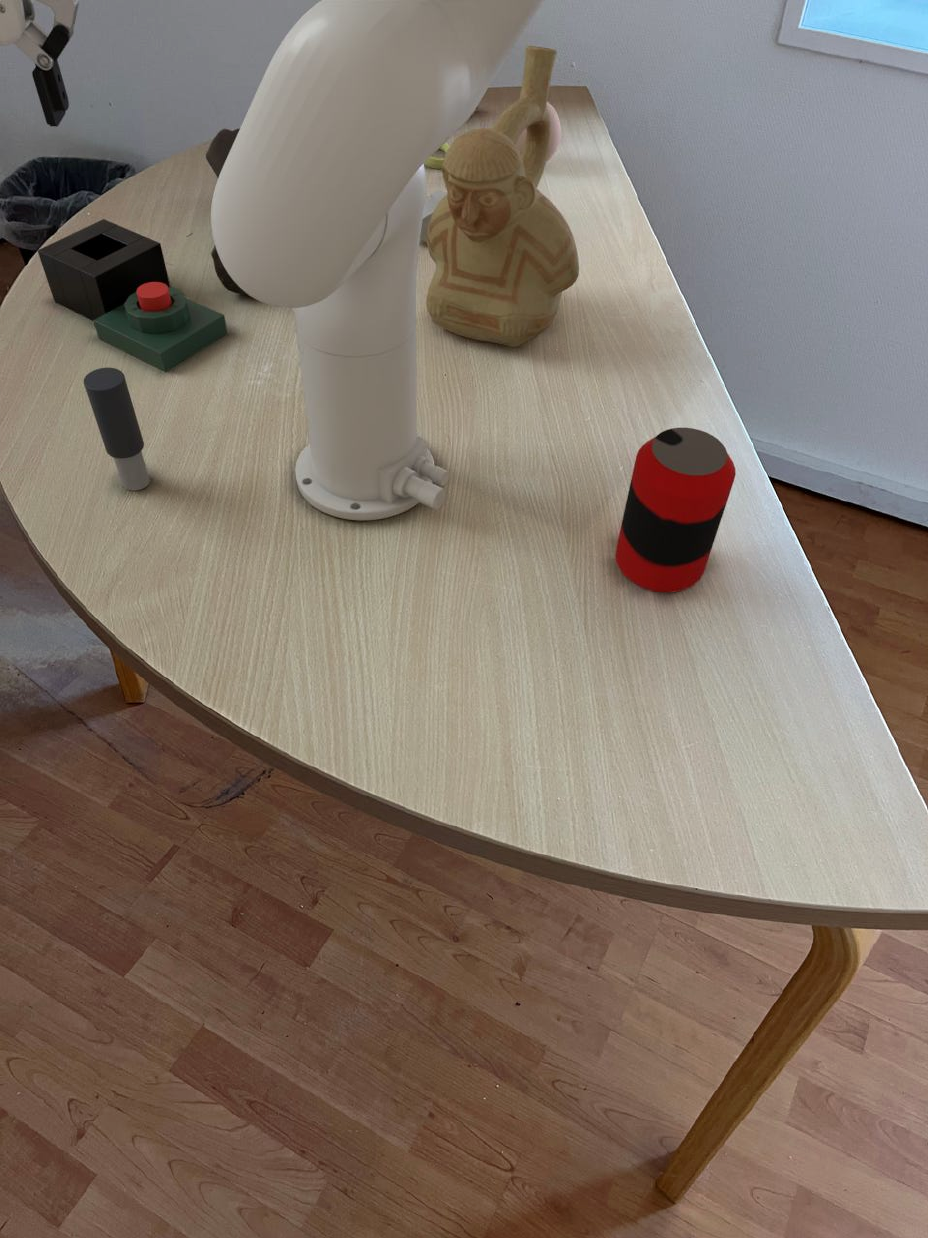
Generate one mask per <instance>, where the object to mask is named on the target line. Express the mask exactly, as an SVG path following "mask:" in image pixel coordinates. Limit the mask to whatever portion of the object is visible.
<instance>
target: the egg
mask: <svg viewBox="0 0 928 1238" xmlns="http://www.w3.org/2000/svg"><path fill="white" fill-rule="evenodd" d="M547 108H548V110H549V114H550V124H551V133H550V146H549V151H548V155H547V160H546V163H547V162H548V161H549V160H550V159H552V158H553V156H554V155H555V154H556V152H557V151H558V149H559V146H560V144H561V137H562V126H561V121H560V118H559V115H558V113H557V111H556V110H555V108H554V107H553V105H551V103H550V102H549V101H547ZM526 134H527V130H526V128H525V129H524V131H523V132H522V134H521V135H520V137H519V139H518V141H517V143H516V145H515V146H516V147H517V148H518V150H519V152H520V155H521V157H522V154H523V151H524V147H525V143H526Z"/></svg>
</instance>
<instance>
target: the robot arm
mask: <svg viewBox="0 0 928 1238" xmlns="http://www.w3.org/2000/svg"><path fill="white" fill-rule="evenodd" d="M36 1H37V2H39V3H41V4H43V5H45V6H47V7H49V8H50V9H51V10H52V12H53V15H54V19H53V25H52V29H51V31H50V32H49V33H48V32H47V31H45V30H44V29H43V28H42V27H41V26H40V24H38V23H37V22H36V21H35V18H36V12H35V6H34V2H33V0H0V47H5V46H9V45H12V44H14V45H15V46H16V47H17V48H18V49H19V50H20V51H21V52H22V53H23V54H25V55H26V56H27V58H29V60H31V61H32V63H34V65H35V66H34V68H33V70H32V72H31V75H32V79H33V83H34V86H35V90H36V93H37V96H38V100H39V103H40V107H41V109H42V113H43V116H44V119H45V122H46V124H47V125H49V126H50V127H59V125H60V124H61V123H62V121H63V119H64V116H66V112H67V111H68V110H69V107H70V101H69V97H68V93H67V90H66V87H65V83H64V79H63V75H62V71H61V68H60V64H59V61H58V59H59V57H60V56H61V54H62V53H63V51H64V50H65V48H66V46H67V44H68V43H69V42H70V40H71V38H72V37H73V35H74V28H75V24H76V19H77V15H78V9H79V5H80V0H36ZM544 2H545V0H320V1H318V2H317V3H315V4H314V5H313V6H312V7H311V8H309V10H308V11H306V12H305V13H304V14H303V15H302V16H301V17H300V18H299V19H298V20H297V21H296V23H295V24H294V25H293V26H292V27H291V29H289V31H288V33H287V34H286V35H285V37H284V38H283V40H282V41H281V42H280V44H279V46H278V47H277V49H276V51H275V53H273V54H274V55H273V56H272V58H271V60H270V62H269V64H268V66H267V68H266V71H265V72H264V74H263V77H262V79H261V82H260V84H259V86H258V88H257V90H256V92H255V95H254V96H253V99H252V101H251V104H250V106H249V107H248V109H247V110H248V111H247V112H246V115H245V117H244V119H243V121H242V124H241V126H240V130H239V132H238V134H237V137H236V139H235V141H234V143H233V146H232V148H231V150H230V152H229V154H228V157H227V159H226V161H225V163H224V166H223V168H222V170H221V173H220V175H219V178H217V182H216V184H215V186H214V191H213V194H212V199H211V206H210V225H211V227H210V228H211V233H212V238H213V243H214V246H216V250H217V252H218V255H219V257H220V260H221V262H222V264H223V266H224V267H225V269H226V271H227V272H228V274H229V275H230V277H231V278H232V279H233V281H234V282H235V283H236V284H237V285H238V286H239V287H240V288H241V289H242V290H243V291H244V292H246V293H247V294H248V295H250V296H249V297H251V298H252V299H254V300H257V301H259V302H261V303H263V304H265V305H268V306H272V307H275V308H282V309H292V311H293V318H294V326H295V327H294V328H295V336H296V344H297V352H298V360H299V368H300V376H301V385H302V393H303V394H302V395H303V401H304V411H305V417H306V418H305V419H306V427H307V434H308V441H309V442H308V444H306V445H305V446H304V448H303V449H302V450H301V452H300V453H299V455H298V458H297V459H296V461H295V462H296V463H295V469H294V473H295V480H296V485H297V488H298V491H299V492H300V494H301V496H302V497H303V498H304V499H305V501H307V503H309V504H310V505H311V506H312V507H313V508H315V509H317V510H319V512H322V513H325V514H326V515H330V516H332V517H336V518H340V519H344V520H350V521H377V520H382V519H383V520H384V519H388V518H390V517H394V516H397V515H401V514H402V513H404V512H407V511H409V510H410V509H411V508H413V507H415V506H416V505H418V504H419V503H421V504H423V505H425V506H426V507H429V508H430V509H433V510H434V511H435V510H436V511H437V510H439V509H440V508H441V507H442V506H443V505H444V503H445V501H446V497H447V490H446V489H445V488H443V487H441V486H446V484H448V482H449V480H450V477H451V472H450V471H448V470H446V469H444V468H442V467H440V466H437V465H435V461H434V457H433V455H432V452H431V450H430V449H429V448H428V441H427V440H426V439H424V438H422V437H420V436H418V398H417V397H418V396H417V395H418V394H417V391H418V390H417V384H418V383H417V275H418V260H419V250H420V242H421V239H420V235H421V228H422V220H423V213H424V204H425V197H426V169H425V164H424V163H425V162H426V161H427V160H428V159H429V158H430V157H433V155H435V154H436V152H437V151H438V150H440V149H439V148H440V147H441V146H442V145H443V144H444V143H445V142H446V143H447V141H449V140H450V139H451V138H452V137H453V136H454V135H455V134H456V133H457V132H458V131H459V130H460V129H461V128H462V127H463V126H464V125H465V124H466V122H467V121H468V120H469V119H470V118H471V117H472V116H473V114H474V112H475V111H476V110H477V109H478V108H477V106H478V107H479V105H480V103H481V101H482V99H483V98H484V96H485V94H486V92H487V90H488V89H489V87H490V86H491V84H492V82H493V80H494V79H495V77H496V76H497V74H498V72H499V71H500V69H501V68H502V65H503V64H504V63H505V61H506V59H507V58H508V56H509V54H510V53H511V52H512V50H513V49H514V47H515V45H516V44H517V42H518V41H519V40H520V38H521V37H522V35H523V34H524V32H525V30H526V29H527V27H528V26H529V25H530V23H531V21H532V20H533V19H534V17H535V15H536V14H537V13H538V11H539V10H540V8H541V7H542V5H543V3H544ZM476 108H477V109H476ZM475 109H476V110H475ZM434 483H436V484H434ZM437 484H438V485H440V486H438V485H437Z"/></svg>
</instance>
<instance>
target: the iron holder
mask: <svg viewBox="0 0 928 1238" xmlns="http://www.w3.org/2000/svg"><path fill="white" fill-rule="evenodd" d="M37 252H38V257H39V260H40V262H41V265H42V268H43V271H44V274H45V277H46V280H47V284H48V286H49V288H50V289H49V290H50V293H51V295H52V298H53V302H54V303H56V304H58V305H60V306H62V307H64V308H66V309H69V310H70V311H73V312H75V313H76V314H79V315H81V316H83V317H85V318H86V319H89V320H91V321H92V322H94V320H95V319H97V318H99V317H101V316H102V315H104V314H106V313H108V312H110V311H112V310H113V309H115V308H117V307H119V306H121V305H122V304H124V303H125V302H126V300H127V299H128V297H129V296H130V295H132V294H134V293H135V292H136V291H137V288H138V287H139V286H141V285H143V284H145V283H149V282H161V283H164V284H166V285H167V286H168V287H171V284H170V279H169V275H168V271H167V266H166V262H165V258H164V252H163V249H162V244H161V243H160V242H159V241H157V240H155V239H151V238H149V237H147V236H145V235H143V234H140V233H137V232H135V231H132V230H130V229H129V228H125V227H124V226H121V225H118V224H116V223H114V222H112V221H109V220H107V219H105V218H102V219H100V220H98V221H96V222H93V223H92V224H90V225H88V226H86V227H84V228H82V229H79V230H77V231H76V232H75V231H74V232H73V233H71V234H69V235H66V236H65V237H63V238H60V239H59V240H57V241H55V242H52V243H50V244H48V245H46V246H44V247H42V248H39V249H38V250H37Z"/></svg>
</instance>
